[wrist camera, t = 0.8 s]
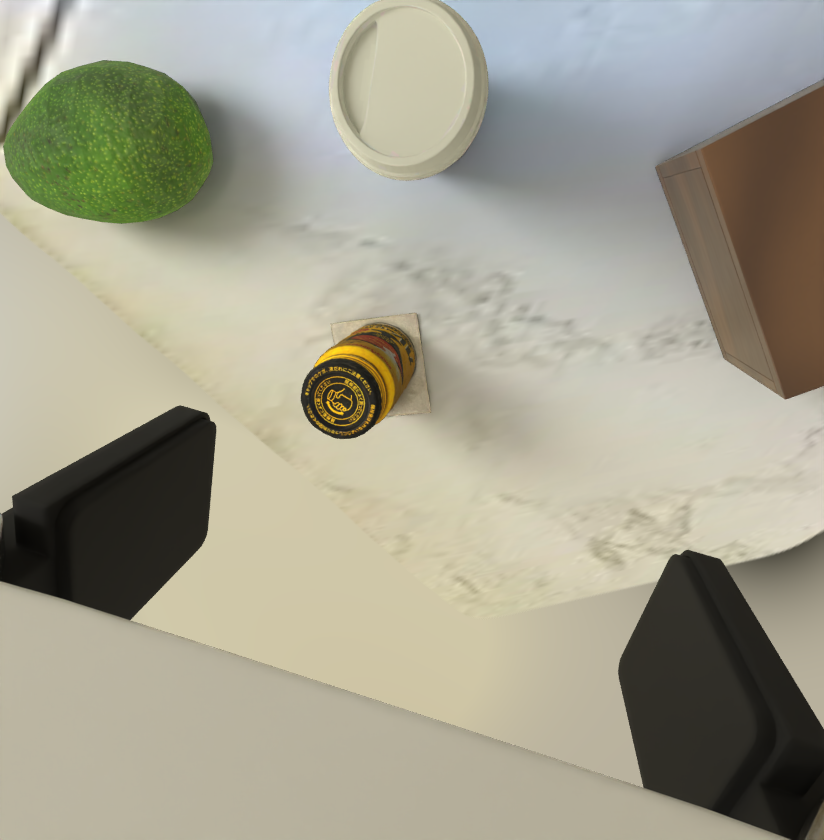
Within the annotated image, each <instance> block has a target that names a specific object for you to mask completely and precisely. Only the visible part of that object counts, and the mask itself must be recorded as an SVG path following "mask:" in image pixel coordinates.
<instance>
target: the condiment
mask: <svg viewBox="0 0 824 840" xmlns="http://www.w3.org/2000/svg"><path fill="white" fill-rule="evenodd" d="M330 325H331V330H332V335H333V340H334V344H335V346H333V347H331V348H330V349H328V350H327V351H326V352H325V353H324V354H323V355H321V356H320V358H319V359H318V361H317V362H316V364H315V366H314V368H313V369H312V370H311V371H310V372H309V374H308V375H307V377H306V378H305V380H304V383H303V387H302V393H301V403H302V406H303V410H304V413H305V415H306V417H307V418H308V420H309V422H310V423H311V424H312V425H313V426H314V427H315V428H317V429H318V430H320V431H321V432H323V433H325V434H327V435H329V436H331V437H333V438H337V439H338V438H339V439H351V438H355V437H358V436H360V435H363V434H365V433H366V432H367V431H368V430H370V429H371V428H372V427H373V426H374V425H376V424H378V423H379V422H380V421H381V420H383V419H384V418H385V417H386V416H395V415H409V414H422V413H431V409H430V402H429V395H428V389H427V381H426V375H425V368H424V360H423V353H422V346H421V339H420V333H419V326H418V319H417V314H416V313H411V314H403V315H395V316H386V317H378V318H371V319H363V320H356V321H349V322H341V323H333V324H330Z"/></svg>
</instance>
